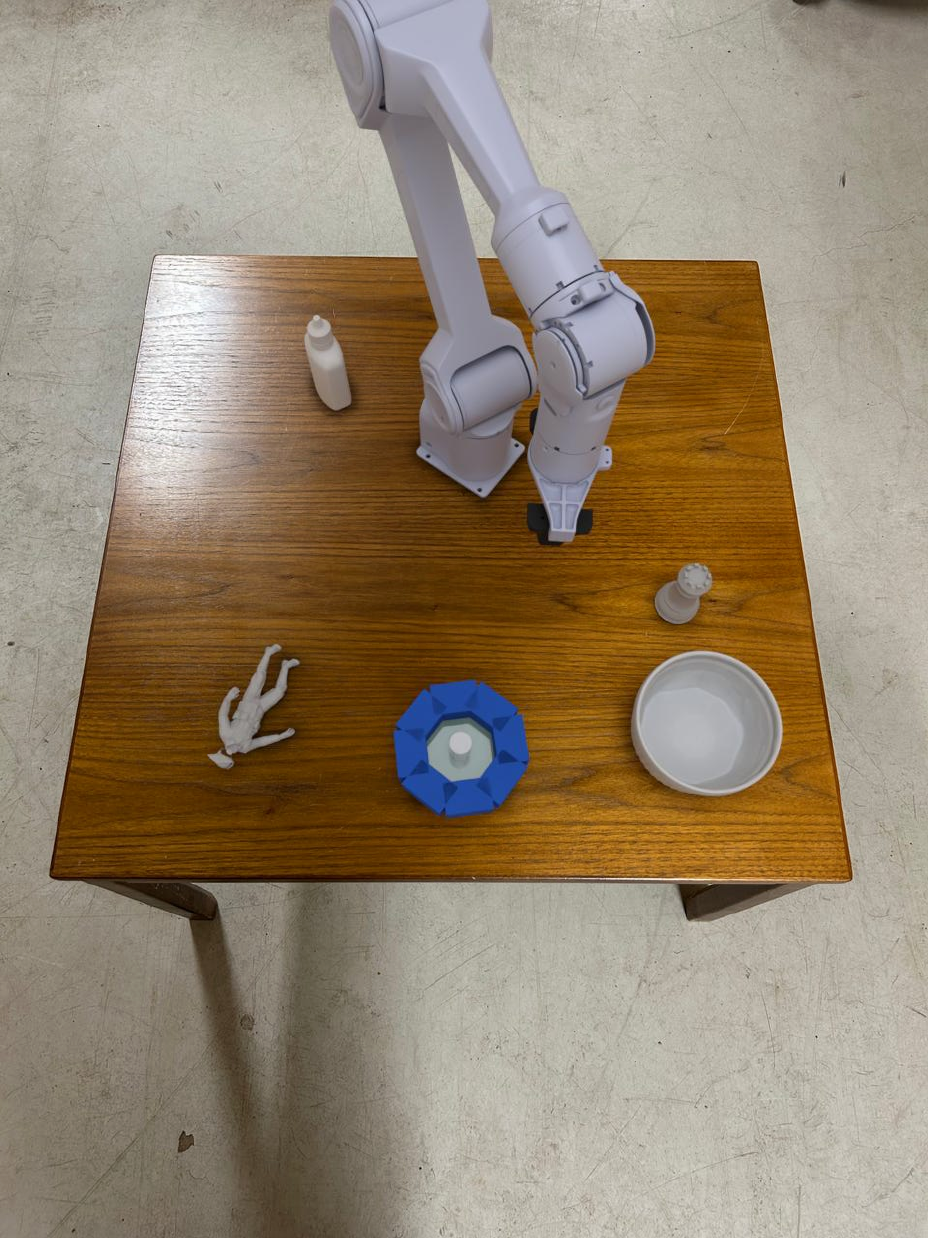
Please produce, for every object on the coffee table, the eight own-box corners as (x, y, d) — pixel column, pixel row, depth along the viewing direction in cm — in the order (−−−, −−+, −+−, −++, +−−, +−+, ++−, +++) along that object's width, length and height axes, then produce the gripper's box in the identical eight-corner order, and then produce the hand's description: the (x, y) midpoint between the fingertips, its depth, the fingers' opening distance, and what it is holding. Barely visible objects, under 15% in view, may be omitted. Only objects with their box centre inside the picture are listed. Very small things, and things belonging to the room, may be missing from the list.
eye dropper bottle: (353, 371, 90) (339, 295, 78) (351, 412, 88) (337, 340, 77) (315, 370, 90) (296, 294, 78) (312, 412, 88) (292, 340, 76)
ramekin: (629, 808, 74) (647, 799, 67) (611, 674, 78) (626, 653, 72) (766, 798, 74) (797, 789, 68) (740, 666, 79) (767, 645, 72)
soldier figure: (322, 678, 78) (276, 783, 71) (292, 687, 81) (245, 789, 74) (266, 631, 74) (211, 738, 67) (236, 643, 77) (180, 746, 70)
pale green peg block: (416, 800, 73) (413, 789, 66) (418, 717, 76) (415, 697, 69) (501, 800, 74) (507, 789, 66) (500, 717, 76) (506, 698, 69)
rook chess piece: (694, 629, 80) (719, 601, 72) (650, 620, 80) (672, 592, 73) (698, 589, 81) (723, 558, 74) (656, 581, 82) (677, 549, 74)
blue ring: (371, 763, 71) (368, 757, 68) (449, 665, 74) (449, 657, 71) (473, 843, 68) (474, 841, 66) (548, 739, 72) (552, 733, 69)
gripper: (624, 508, 59) (592, 578, 71) (621, 350, 63) (592, 442, 76) (531, 503, 59) (516, 573, 71) (535, 345, 63) (520, 438, 76)
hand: (550, 505), depth 74 cm, fingers open, 7 cm apart
